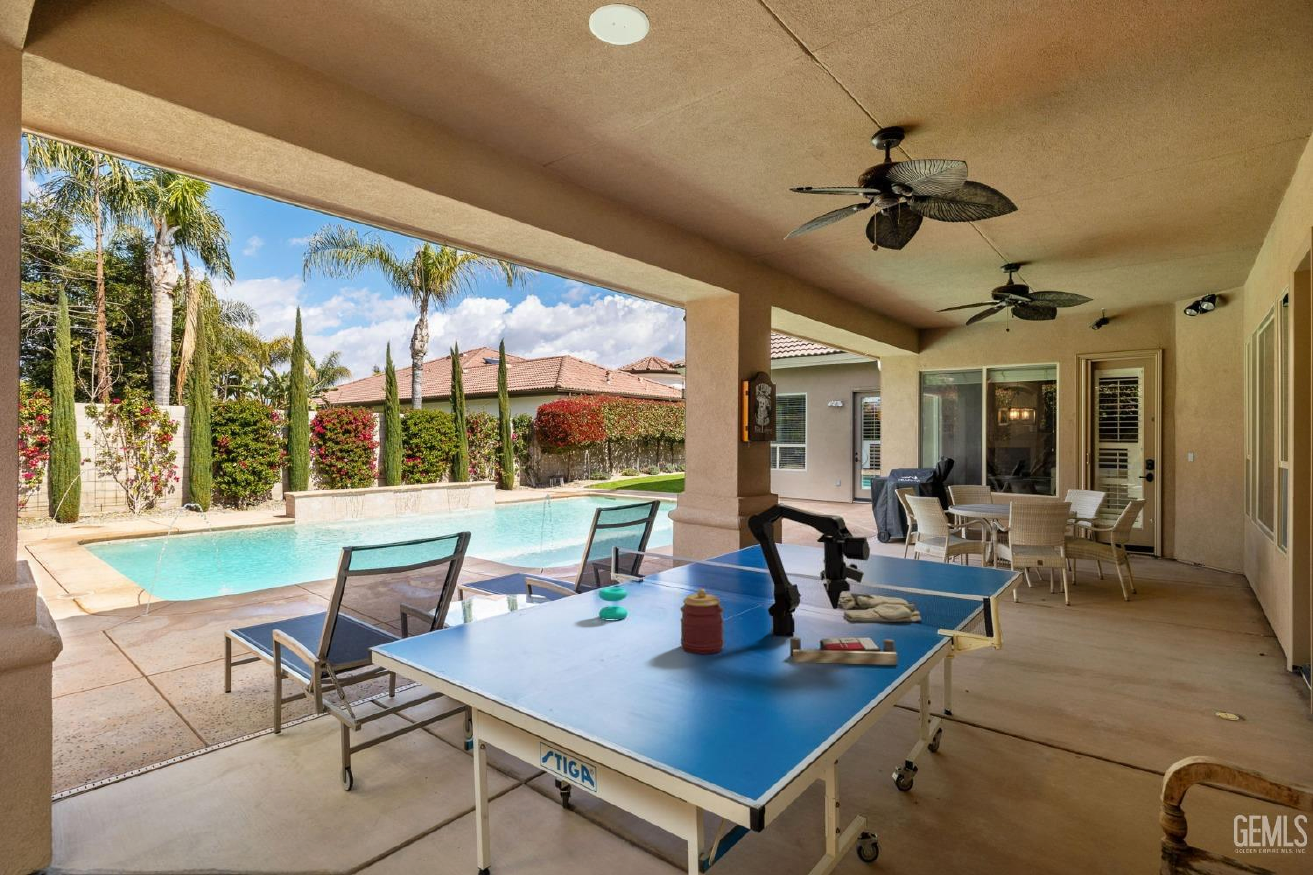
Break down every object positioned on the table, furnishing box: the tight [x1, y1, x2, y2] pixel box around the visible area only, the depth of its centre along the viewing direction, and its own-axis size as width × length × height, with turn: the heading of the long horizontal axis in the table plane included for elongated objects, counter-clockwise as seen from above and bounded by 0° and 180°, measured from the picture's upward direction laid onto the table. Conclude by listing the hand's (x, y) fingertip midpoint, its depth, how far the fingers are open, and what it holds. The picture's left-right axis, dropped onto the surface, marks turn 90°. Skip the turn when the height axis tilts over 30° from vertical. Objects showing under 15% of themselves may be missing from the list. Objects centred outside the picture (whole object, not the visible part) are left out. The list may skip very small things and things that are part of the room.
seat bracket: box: [789, 636, 898, 666], centre depth 185 cm, size 29×7×5 cm, turn 83°
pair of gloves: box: [838, 592, 922, 623], centre depth 236 cm, size 30×26×5 cm
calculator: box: [819, 637, 882, 652], centre depth 189 cm, size 11×4×15 cm
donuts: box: [598, 586, 628, 620], centre depth 233 cm, size 10×10×10 cm
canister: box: [679, 588, 725, 655], centre depth 197 cm, size 13×13×18 cm
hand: (834, 608), depth 200 cm, fingers closed
